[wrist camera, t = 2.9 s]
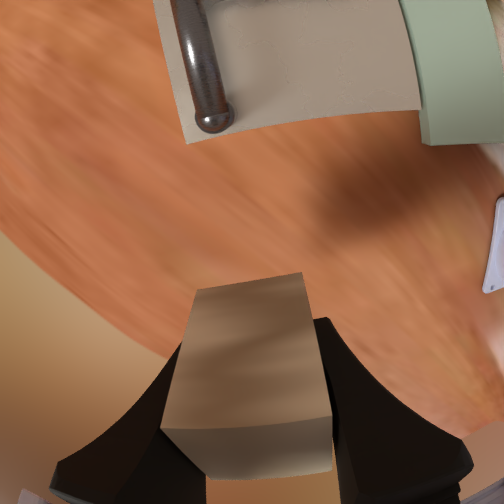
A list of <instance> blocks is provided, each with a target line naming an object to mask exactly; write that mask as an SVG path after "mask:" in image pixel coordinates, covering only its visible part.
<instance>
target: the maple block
mask: <svg viewBox="0 0 504 504" xmlns="http://www.w3.org/2000/svg"><path fill="white" fill-rule="evenodd" d="M160 428H161V430H162V431H163V432H164V433H165V434H166V435H167V436H168V437H169V438H170V439H171V440H172V442H173V443H174V444H175V445H176V446H177V447H178V448H179V449H180V450H181V451H182V452H183V453H184V454H185V455H186V456H187V457H188V458H189V459H190V460H191V461H192V462H193V463H194V464H195V465H196V466H197V467H198V468H199V469H200V470H201V471H202V472H204V473H205V474H206V475H207V476H208V477H209V478H210V479H211V480H252V479H268V478H280V477H291V476H299V475H307V474H313V473H320V472H326V471H331V470H332V411H331V406H330V401H329V395H328V390H327V385H326V380H325V375H324V370H323V365H322V360H321V355H320V350H319V346H318V341H317V336H316V332H315V327H314V323H313V318H312V314H311V309H310V305H309V301H308V296H307V292H306V288H305V283H304V279H303V275H302V272H300V273H294V274H289V275H283V276H277V277H272V278H266V279H260V280H254V281H248V282H242V283H236V284H230V285H224V286H218V287H212V288H205V289H199V290H197V292H196V295H195V299H194V302H193V305H192V309H191V312H190V316H189V319H188V323H187V326H186V330H185V334H184V337H183V341H182V344H181V348H180V352H179V355H178V359H177V363H176V367H175V370H174V374H173V378H172V382H171V386H170V390H169V394H168V398H167V402H166V406H165V410H164V414H163V418H162V422H161V426H160Z"/></svg>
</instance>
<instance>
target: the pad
mask: <svg viewBox="0 0 504 504" xmlns="http://www.w3.org/2000/svg"><path fill="white" fill-rule="evenodd" d="M398 2H399V6H400V9H401V12H402V16H403V19H404V23H405V26H406V30H407V34H408V38H409V42H410V46H411V51H412V55H413V60H414V65H415V70H416V76H417V82H418V88H419V94H420V101H421V109H422V110H419V118H420V127H421V138H422V143H424V144H427V145H430V146H435V145H453V144H480V143H504V73H503V67H502V62H501V56H500V52H499V47H498V43H497V38H496V34H495V30H494V27H493V23H492V20H491V16H490V13H489V10H488V6H487V3H486V0H398Z"/></svg>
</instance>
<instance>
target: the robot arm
mask: <svg viewBox="0 0 504 504" xmlns="http://www.w3.org/2000/svg"><path fill="white" fill-rule="evenodd" d="M503 287H504V197H501V198H499V199H498V200H497V203H496V212H495V221H494V228H493V236H492V242H491V248H490V254H489V259H488V264H487V269H486V274H485V279H484V283H483V287H482V290H483V292H484V293H489V292H492V291H495V290H498V289H500V288H503ZM313 323H314V327H315V332H316V336H317V341H318V346H319V350H320V355H321V360H322V365H323V370H324V375H325V380H326V385H327V390H328V395H329V401H330V406H331V411H332V437H333V443H334V450H335V456H336V465H337V472H338V481H339V490H340V499H341V504H504V478H502V479H500V480H499V481H497V482H495V483H494V484H492V485H490V486H488V487H487V488H485V489H483V490H481V491H479V492H478V493H476V494H474V495H472V496H470V497H468V498H466V499H464V500H462V501H460V500H459V496H458V493H459V492H460V490H461V489H460V486H459V483H458V482H459V481H461V480H462V479H463V478H464V477H465V476H466V475H467V474H469V473H470V472H471V471H472V469H473V467H474V464H473V461H472V458H471V455H470V453H469V452H468V450H467V448H466V446H465V445H464V443H463V441H462V440H461V439H459V438H457V437H455V436H453V435H451V434H449V433H447V432H445V431H444V430H442V429H440V428H438V427H437V426H435V425H433V424H432V423H430V422H429V421H427V420H426V419H424V418H422V417H421V416H420V415H418V414H417V413H416V412H414V411H413V410H411V409H410V408H409V407H407V406H406V405H405V404H403V403H402V402H401V401H400V400H398V399H397V398H396V397H395V396H394V395H393V394H391V393H390V392H389V391H388V390H387V389H386V388H385V387H384V386H383V385H381V384H380V383H379V382H378V381H377V380H376V379H375V378H374V377H373V376H372V375H371V373H370V372H369V371H368V370H367V369H366V368H365V367H364V366H363V365H362V364H361V362H360V361H359V360H358V359H357V358H356V356H355V355H354V354H353V353H352V351H351V350H350V349H349V348H348V346H347V345H346V344H345V342H344V341H343V339H342V338H341V337H340V335H339V334H338V332H337V331H336V329H335V327H334V326H333V324H332V322H331V320H330V319H329V318H327V317H324V318H319V319H313ZM181 344H182V342H181V343H180V345H179V346H178V348H177V349H176V350H175V352H174V353H173V355H172V356H171V358H170V359H169V360H168V362H167V363H166V365H165V366H164V368H163V369H162V370H161V372H160V373H159V375H158V376H157V377H156V379H155V380H154V381H153V382H152V384H151V385H150V386H149V387H148V389H147V390H146V391H145V392H144V394H143V395H142V396H141V397H140V398H139V400H138V401H137V402H136V403H135V404H134V405H133V406H132V407H131V408H130V409H129V410H128V411H127V412H126V413H125V415H123V416H122V417H121V418H120V419H119V420H118V421H117V422H116V423H115V424H113V425H112V426H111V427H110V428H109V429H108V430H107V431H105V432H104V433H103V434H102V435H100V436H99V437H98V438H96V439H95V440H94V441H92V442H91V443H89V444H88V445H87V446H85V447H84V448H82V449H81V450H79V451H77V452H75V453H74V454H72V455H70V456H68V457H67V458H65V459H63V460H61V461H59V462H58V463H57V466H56V469H55V472H54V474H53V477H52V480H51V484H50V486H49V490H50V491H51V492H52V493H53V494H55V495H56V496H58V497H59V498H61V499H63V500H65V501H66V502H68V503H70V504H206V474H205V473H204V472H202V471H201V470H200V469H199V468H198V467H197V466H196V465H195V464H194V463H193V462H192V461H191V460H190V459H189V458H188V457H187V456H186V455H185V454H184V453H183V452H182V451H181V450H180V449H179V448H178V447H177V446H176V445H175V444H174V443H173V442H172V440H171V439H170V438H169V437H168V436H167V435H166V434H165V433H164V432H163V431H162V430H161V428H160V426H161V422H162V418H163V414H164V410H165V406H166V402H167V398H168V394H169V390H170V386H171V382H172V378H173V374H174V370H175V367H176V363H177V359H178V355H179V352H180V348H181ZM17 504H52V503H50V502H49V501H47V500H45V499H43V498H41V497H39V496H37V495H36V494H34V493H32V492H30V491H28V490H26V489H22V491H21V494H20V497H19V500H18V503H17Z"/></svg>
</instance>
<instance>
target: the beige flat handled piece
mask: <svg viewBox="0 0 504 504" xmlns="http://www.w3.org/2000/svg"><path fill="white" fill-rule="evenodd" d="M153 4H154V9H155V13H156V18H157V23H158V28H159V32H160V37H161V41H162V46H163V50H164V55H165V59H166V63H167V68H168V72H169V76H170V80H171V85H172V89H173V93H174V97H175V101H176V105H177V109H178V113H179V117H180V121H181V125H182V129H183V133H184V137H185V141H186V144H190V143H194V142H198V141H202V140H206V139H210V138H214V137H218V136H222V135H226V134H231V133H235V132H240V131H245V130H250V129H255V128H260V127H265V126H270V125H276V124H282V123H288V122H294V121H300V120H307V119H314V118H321V117H329V116H338V115H347V114H358V113H369V112H383V111H403V110H422V109H421V101H420V94H419V88H418V82H417V76H416V70H415V65H414V60H413V55H412V51H411V46H410V42H409V38H408V34H407V30H406V26H405V23H404V19H403V16H402V12H401V9H400V6H399V2H398V0H153Z"/></svg>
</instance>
